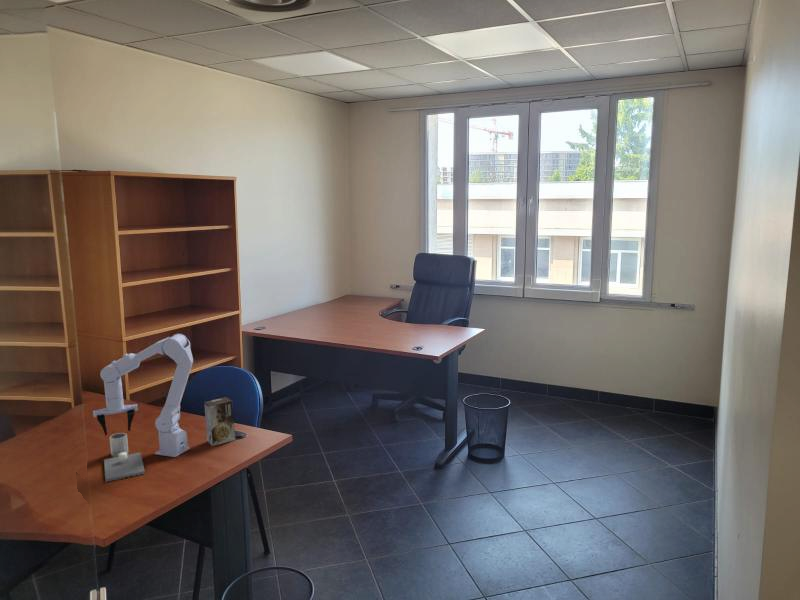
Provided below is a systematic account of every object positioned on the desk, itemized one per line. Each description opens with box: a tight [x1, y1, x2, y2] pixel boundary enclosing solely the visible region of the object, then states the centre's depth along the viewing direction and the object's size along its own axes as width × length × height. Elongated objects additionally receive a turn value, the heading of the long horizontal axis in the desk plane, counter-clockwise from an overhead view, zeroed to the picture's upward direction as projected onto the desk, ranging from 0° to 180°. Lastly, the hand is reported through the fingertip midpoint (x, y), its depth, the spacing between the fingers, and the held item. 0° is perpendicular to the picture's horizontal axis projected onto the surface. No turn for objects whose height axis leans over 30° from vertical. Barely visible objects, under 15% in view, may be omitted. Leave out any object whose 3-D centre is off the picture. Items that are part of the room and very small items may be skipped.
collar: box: [109, 432, 129, 458], centre depth 214 cm, size 6×6×7 cm
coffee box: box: [203, 396, 236, 447], centre depth 224 cm, size 9×6×16 cm
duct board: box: [103, 451, 146, 483], centre depth 203 cm, size 12×18×4 cm, turn 28°
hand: (117, 432), depth 214 cm, fingers open, 7 cm apart
